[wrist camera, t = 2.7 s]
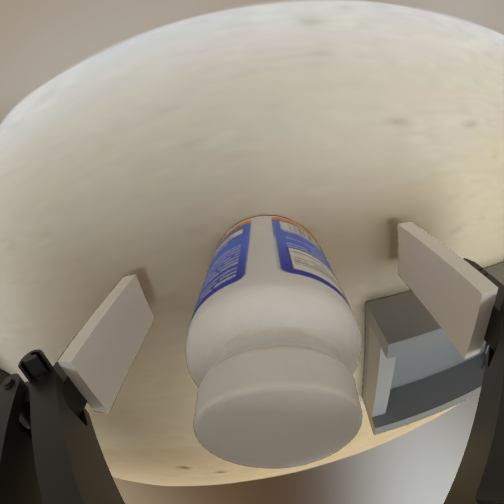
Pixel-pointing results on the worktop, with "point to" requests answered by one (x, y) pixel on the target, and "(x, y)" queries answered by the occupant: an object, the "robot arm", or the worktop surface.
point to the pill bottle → (273, 350)
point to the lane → (414, 362)
